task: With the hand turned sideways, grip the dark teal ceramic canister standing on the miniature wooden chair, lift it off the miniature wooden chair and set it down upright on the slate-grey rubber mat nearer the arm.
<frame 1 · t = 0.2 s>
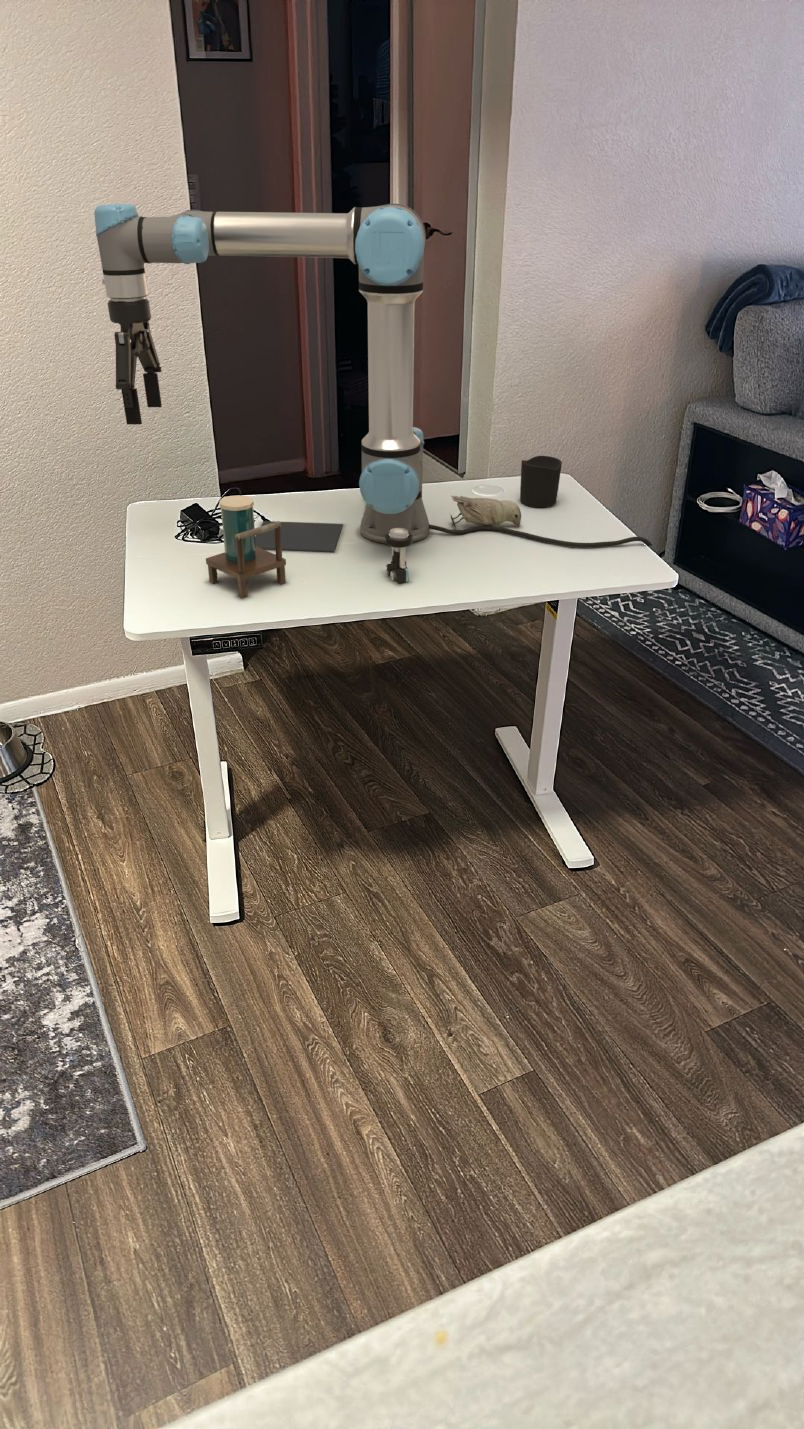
hand: (144, 415, 187), 28 cm above the table, tool pointing down, fingers open, 13 cm apart
miniature wooden chair: (247, 582, 187), on the table
pen holder: (537, 503, 229), on the table
decorative bird: (484, 528, 215), on the table
mat: (297, 537, 208), on the table
canister: (241, 556, 185), point 5 cm above the table, touching miniature wooden chair
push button: (396, 578, 190), on the table
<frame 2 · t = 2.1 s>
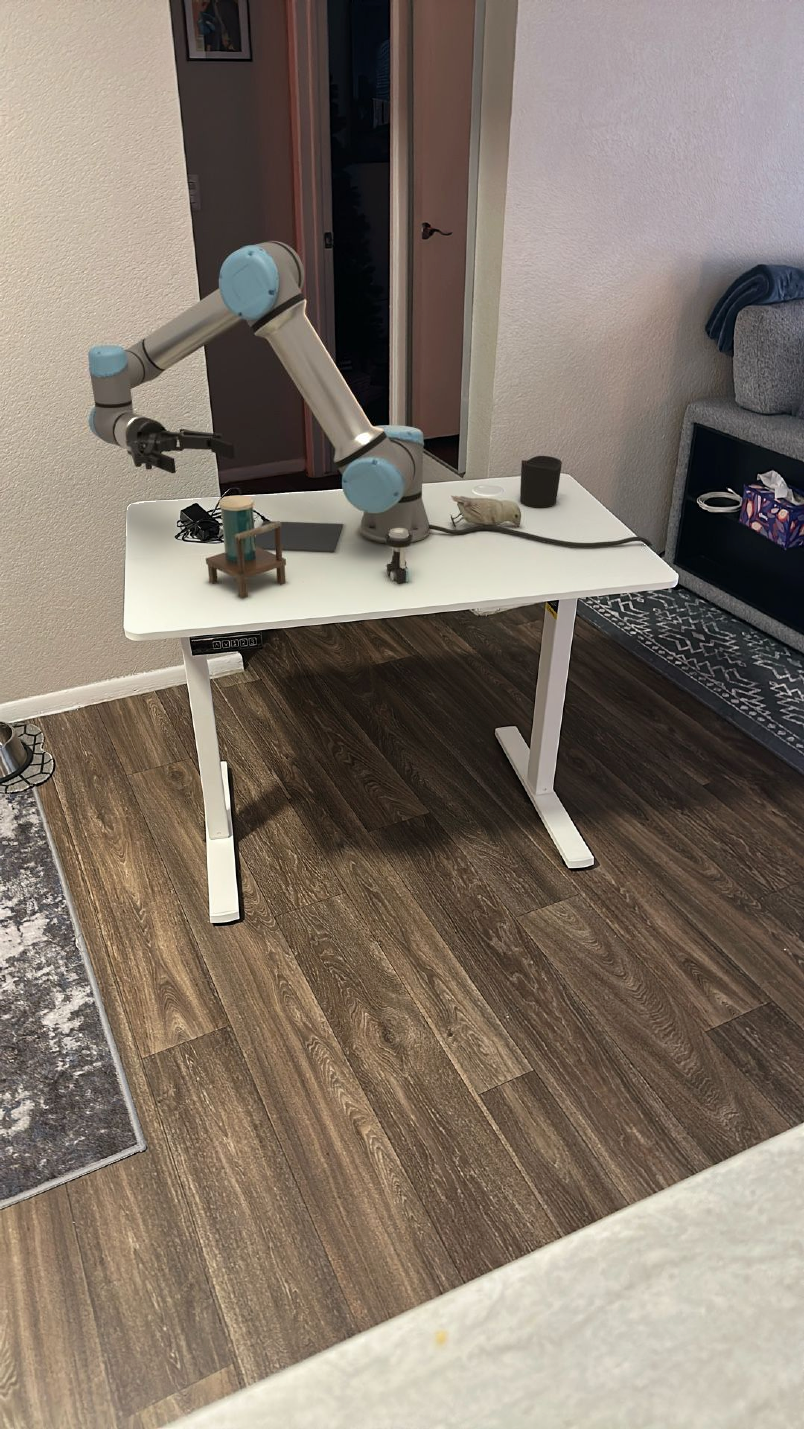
hand: (203, 458, 182), 22 cm above the table, tool horizontal, fingers open, 13 cm apart
nothing on the table moved.
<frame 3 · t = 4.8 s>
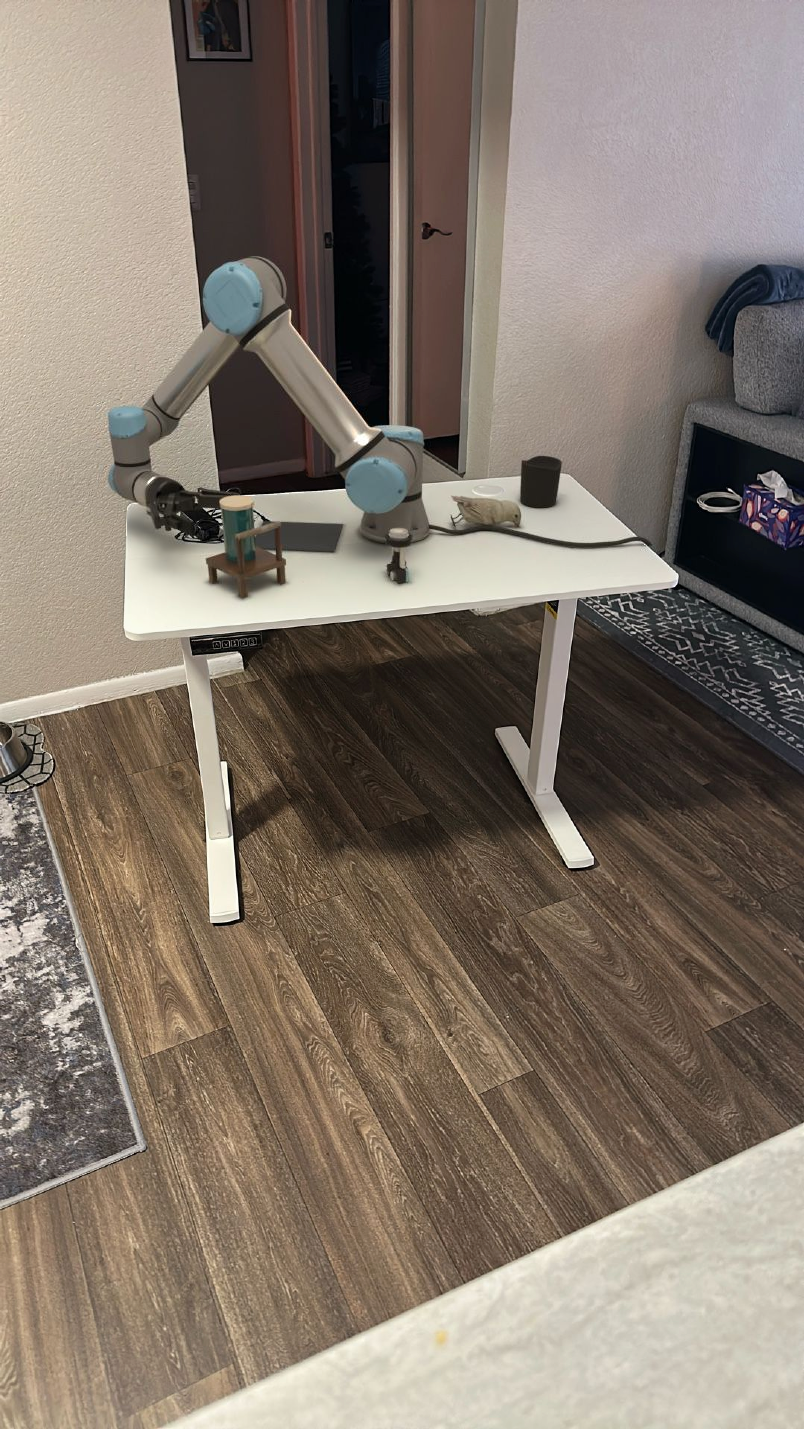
hand: (221, 520, 185), 11 cm above the table, tool horizontal, fingers open, 13 cm apart
nothing on the table moved.
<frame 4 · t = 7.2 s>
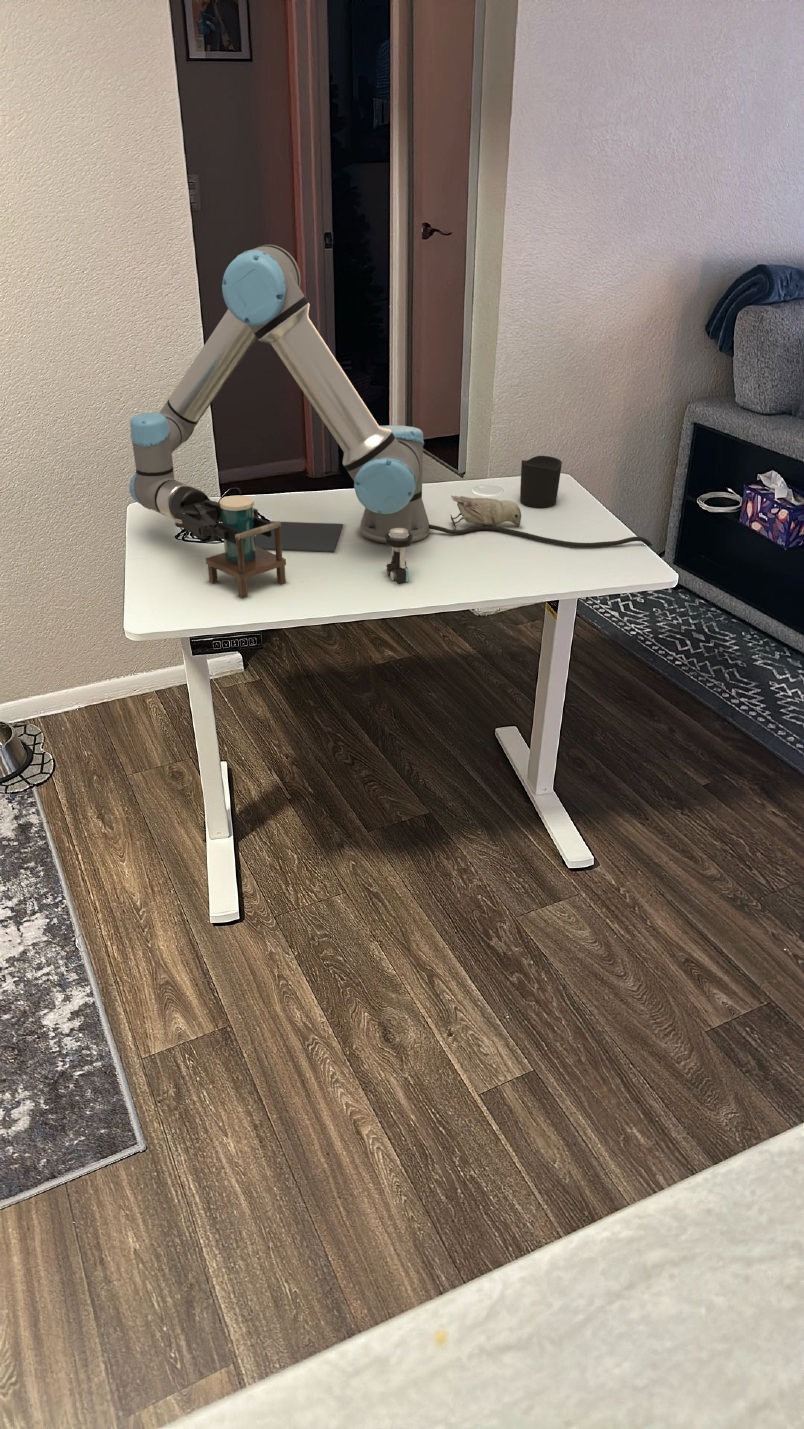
hand: (255, 534, 179), 11 cm above the table, tool horizontal, fingers closed on canister, 6 cm apart
canister: (240, 556, 185), point 5 cm above the table, touching gripper, miniature wooden chair
everything else where it was.
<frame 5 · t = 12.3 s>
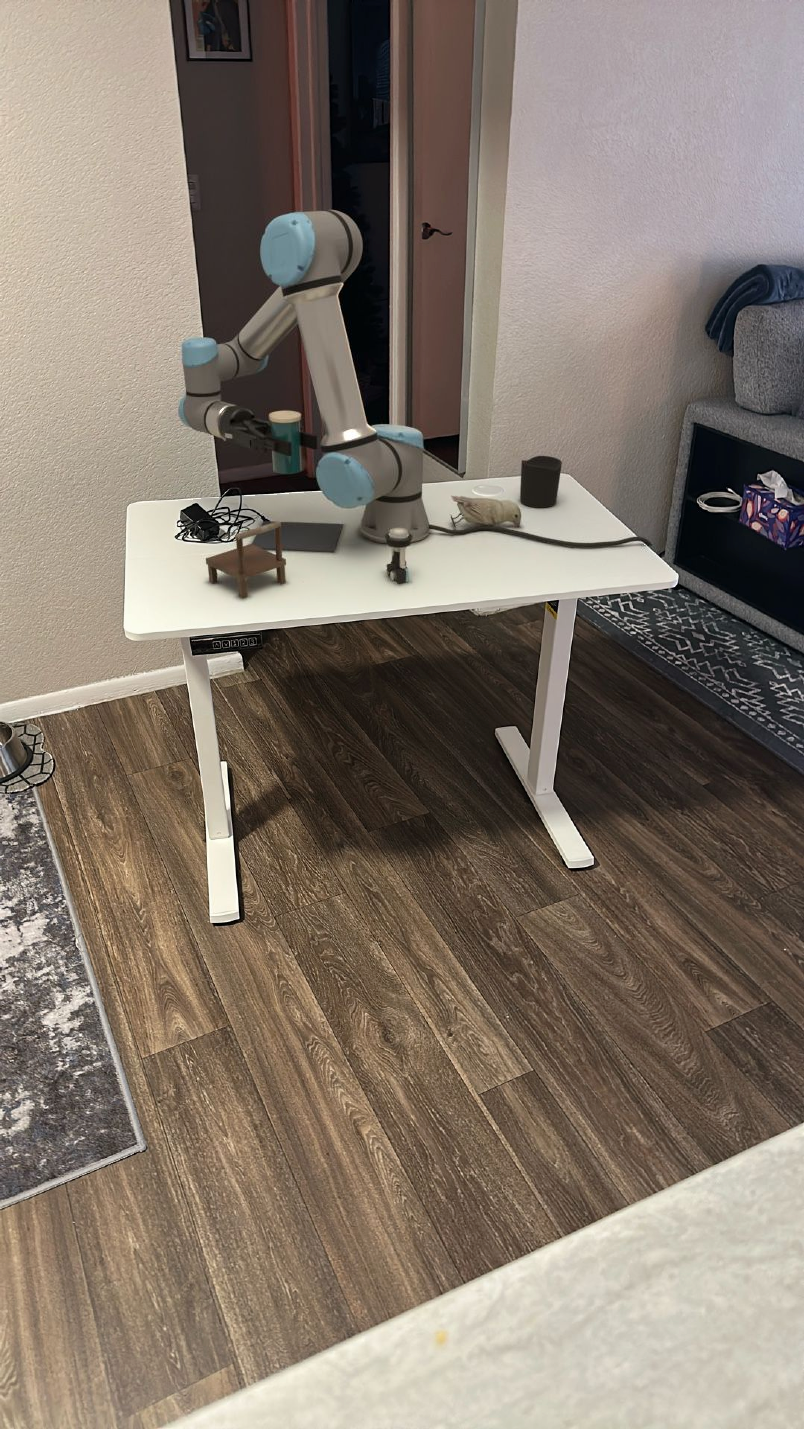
hand: (302, 445, 191), 22 cm above the table, tool horizontal, fingers closed on canister, 6 cm apart
canister: (287, 469, 197), point 16 cm above the table, touching gripper
everything else where it was.
when the fingers open (6 cm above the table, at t = 17.1 s): canister stays where it is, resting on mat.
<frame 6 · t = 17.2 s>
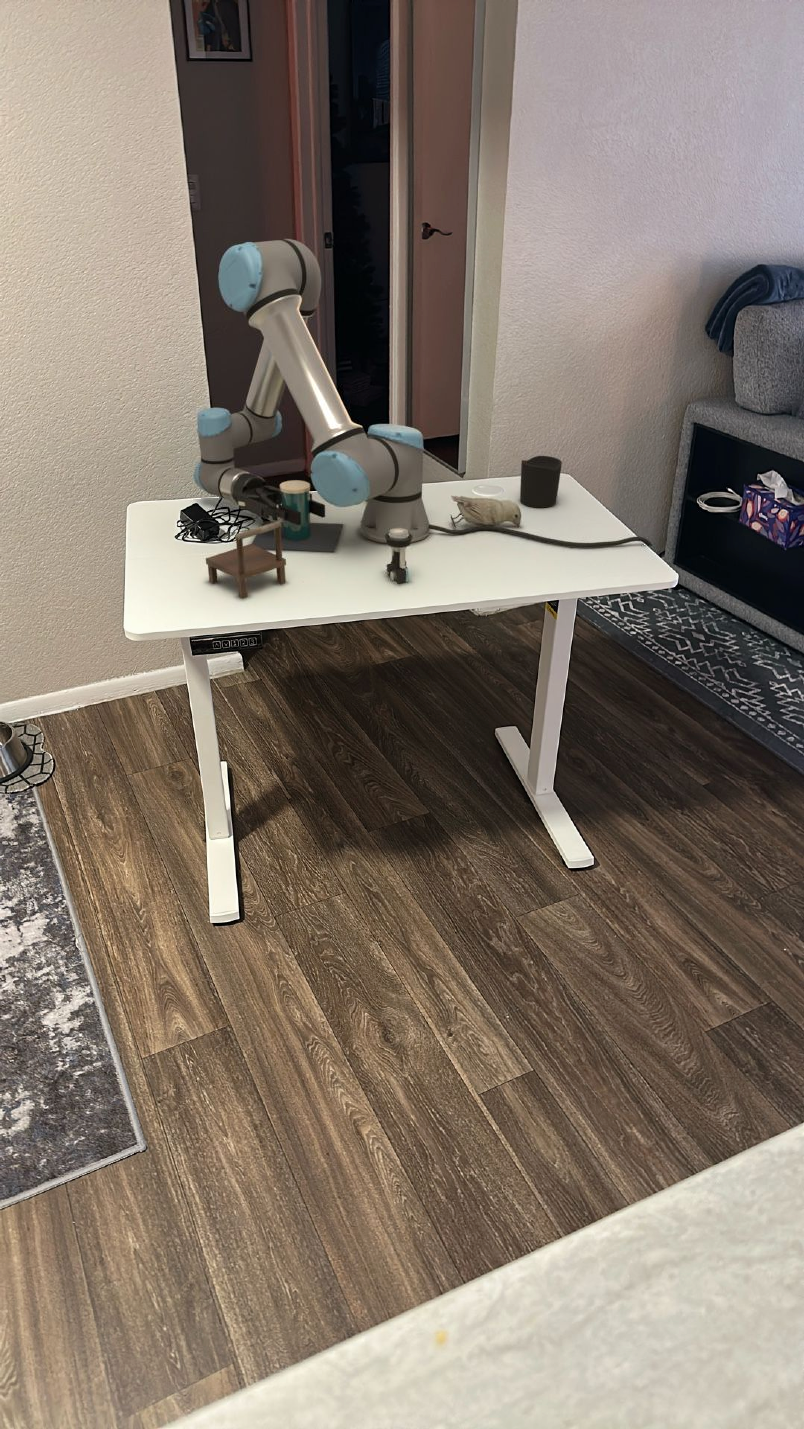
hand: (311, 514, 201), 6 cm above the table, tool horizontal, fingers open, 6 cm apart
canister: (297, 535, 208), resting on mat
everything else where it was.
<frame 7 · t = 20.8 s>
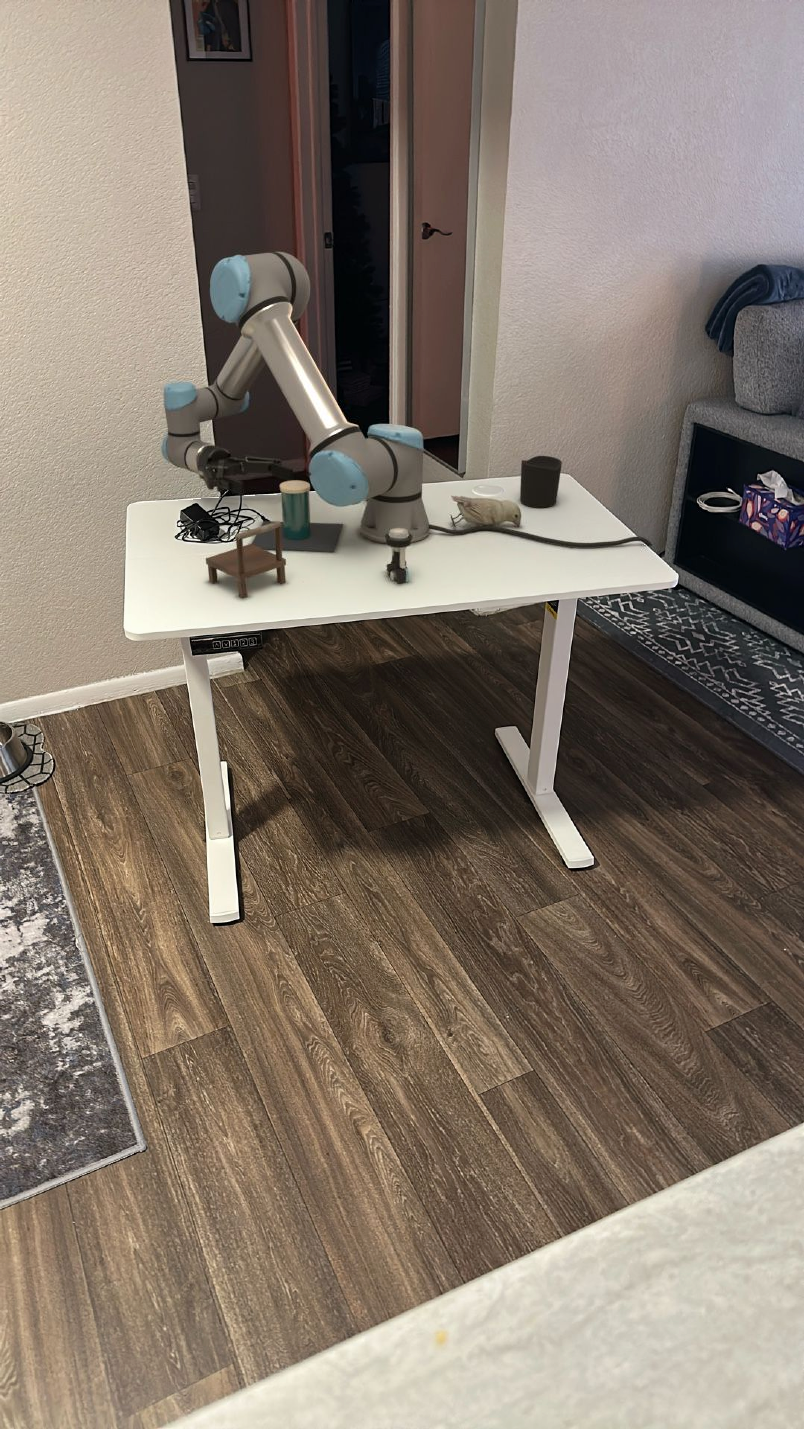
hand: (267, 482, 208), 10 cm above the table, tool horizontal, fingers open, 13 cm apart
nothing on the table moved.
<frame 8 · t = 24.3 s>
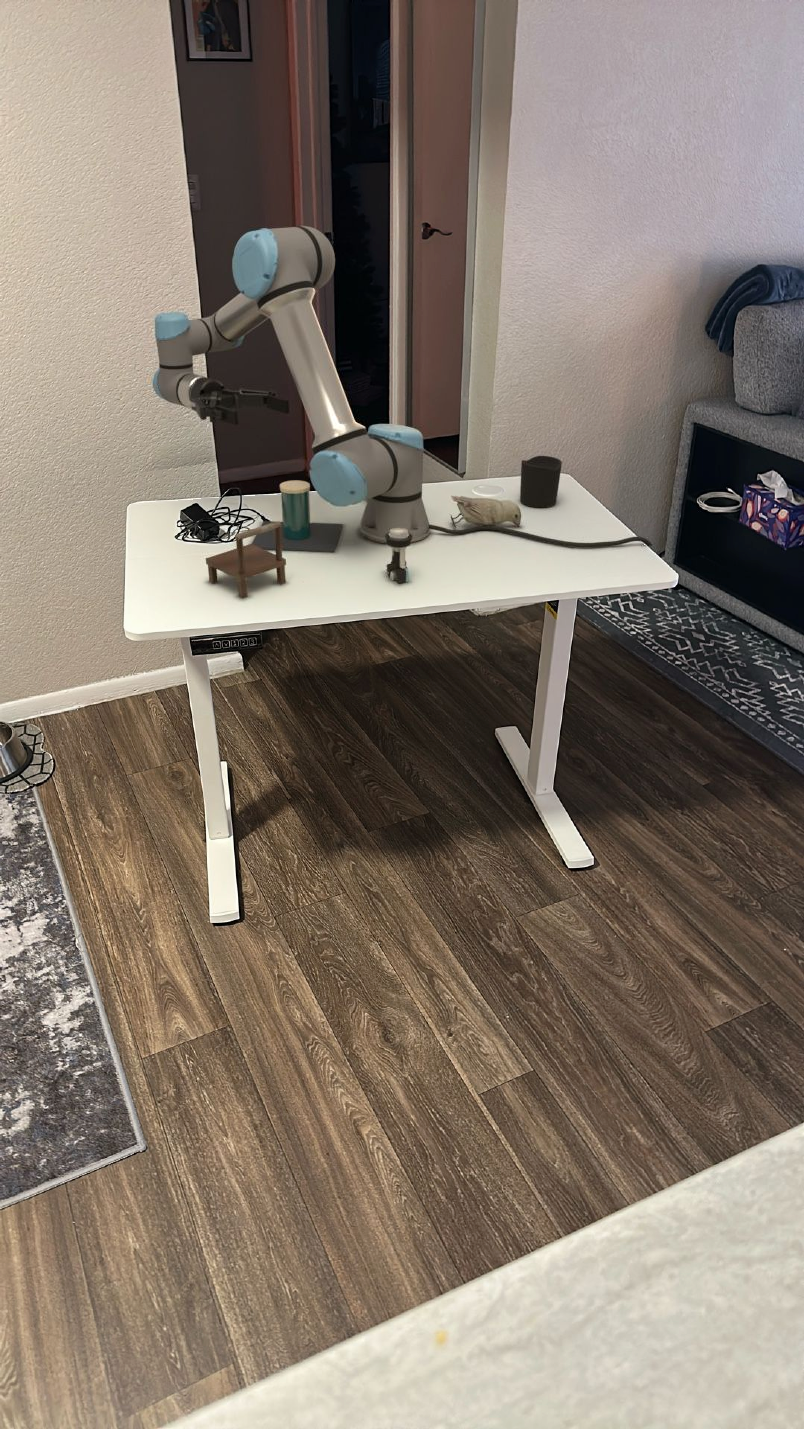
hand: (262, 412, 200), 25 cm above the table, tool horizontal, fingers open, 13 cm apart
nothing on the table moved.
at the end: canister inside the target area on the mat (0.1 cm from its centre), point 0.4 cm above the mat's base; canister tilted 0°; the gripper is holding nothing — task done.
